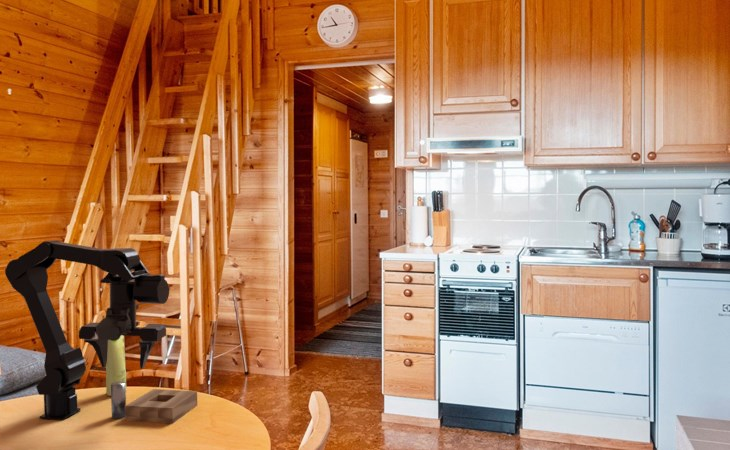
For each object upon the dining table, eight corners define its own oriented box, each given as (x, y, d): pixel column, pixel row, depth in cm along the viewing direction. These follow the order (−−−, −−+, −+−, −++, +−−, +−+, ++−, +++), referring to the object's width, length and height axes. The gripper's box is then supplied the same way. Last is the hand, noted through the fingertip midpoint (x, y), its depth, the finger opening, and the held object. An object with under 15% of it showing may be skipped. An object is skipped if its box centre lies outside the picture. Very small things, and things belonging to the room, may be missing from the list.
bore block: (125, 420, 134) (125, 405, 134) (153, 402, 146) (153, 389, 146) (172, 423, 132) (172, 408, 132) (197, 405, 143) (197, 391, 143)
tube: (128, 394, 152) (126, 321, 151) (108, 398, 149) (105, 324, 149) (124, 389, 157) (122, 318, 156) (104, 392, 154) (102, 320, 153)
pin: (108, 418, 135) (107, 385, 135) (117, 413, 138) (116, 381, 138) (121, 419, 135) (120, 385, 134) (129, 414, 138) (128, 381, 137)
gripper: (64, 307, 127) (65, 376, 128) (146, 309, 126) (146, 379, 127) (91, 298, 139) (91, 362, 139) (167, 300, 137) (167, 365, 138)
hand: (123, 367), depth 136 cm, fingers open, 9 cm apart
